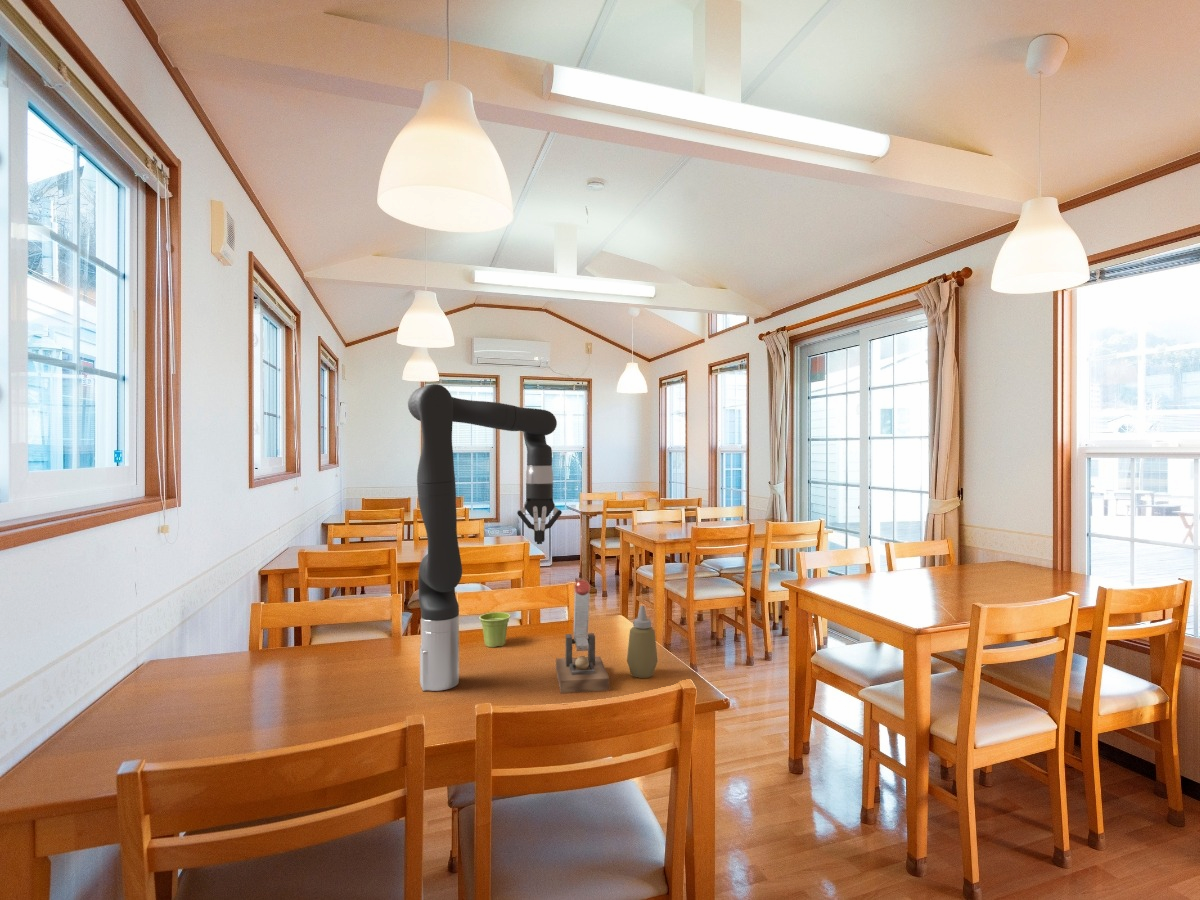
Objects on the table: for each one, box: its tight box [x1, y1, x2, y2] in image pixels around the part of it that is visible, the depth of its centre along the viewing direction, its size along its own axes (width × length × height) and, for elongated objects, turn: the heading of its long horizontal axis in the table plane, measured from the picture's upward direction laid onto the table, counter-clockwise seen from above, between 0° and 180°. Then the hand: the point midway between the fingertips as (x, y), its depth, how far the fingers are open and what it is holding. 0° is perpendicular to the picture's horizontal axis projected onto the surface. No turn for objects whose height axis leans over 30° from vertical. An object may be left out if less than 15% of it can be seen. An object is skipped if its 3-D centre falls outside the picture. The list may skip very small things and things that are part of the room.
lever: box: [572, 578, 591, 652], centre depth 154 cm, size 4×8×17 cm, turn 8°
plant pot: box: [478, 611, 511, 648], centre depth 184 cm, size 9×9×9 cm
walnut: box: [575, 655, 589, 670], centre depth 154 cm, size 4×4×4 cm
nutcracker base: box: [555, 632, 610, 694], centre depth 155 cm, size 12×16×10 cm
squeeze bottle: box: [626, 605, 659, 679], centre depth 159 cm, size 8×8×18 cm
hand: (539, 543), depth 169 cm, fingers closed
